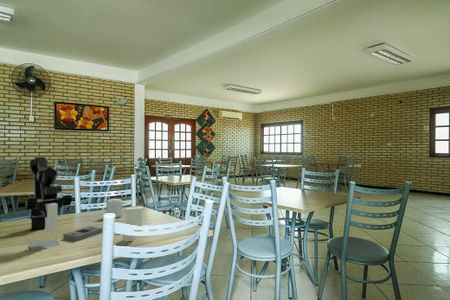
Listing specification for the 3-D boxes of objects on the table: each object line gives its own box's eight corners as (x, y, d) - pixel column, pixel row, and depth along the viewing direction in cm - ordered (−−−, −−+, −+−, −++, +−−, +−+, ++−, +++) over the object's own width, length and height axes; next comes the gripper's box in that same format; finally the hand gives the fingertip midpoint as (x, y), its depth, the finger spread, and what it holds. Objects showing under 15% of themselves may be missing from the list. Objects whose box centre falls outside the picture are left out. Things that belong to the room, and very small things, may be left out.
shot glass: (124, 238, 141) (124, 224, 141) (137, 237, 141) (138, 224, 141) (120, 242, 134) (120, 228, 134) (134, 242, 134) (135, 228, 135)
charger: (47, 231, 126) (47, 205, 126) (45, 229, 130) (45, 203, 130) (57, 230, 129) (57, 204, 129) (54, 227, 132) (55, 203, 132)
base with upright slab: (127, 231, 151) (127, 210, 152) (124, 227, 159) (125, 207, 160) (143, 230, 156) (144, 209, 156) (140, 226, 164) (141, 206, 164)
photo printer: (121, 215, 188) (121, 197, 189) (122, 217, 185) (123, 198, 185) (105, 217, 183) (105, 199, 183) (106, 218, 179) (106, 200, 179)
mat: (30, 251, 120) (31, 249, 120) (29, 244, 128) (29, 243, 128) (59, 246, 127) (59, 245, 127) (56, 240, 135) (56, 238, 135)
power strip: (76, 242, 132) (76, 235, 132) (63, 240, 136) (63, 232, 136) (102, 233, 147) (102, 227, 147) (89, 231, 151) (90, 225, 151)
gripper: (27, 181, 126) (29, 209, 118) (72, 178, 139) (77, 204, 130) (24, 195, 132) (26, 223, 123) (67, 192, 144) (72, 217, 136)
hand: (51, 216), depth 128 cm, fingers closed on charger, 4 cm apart
